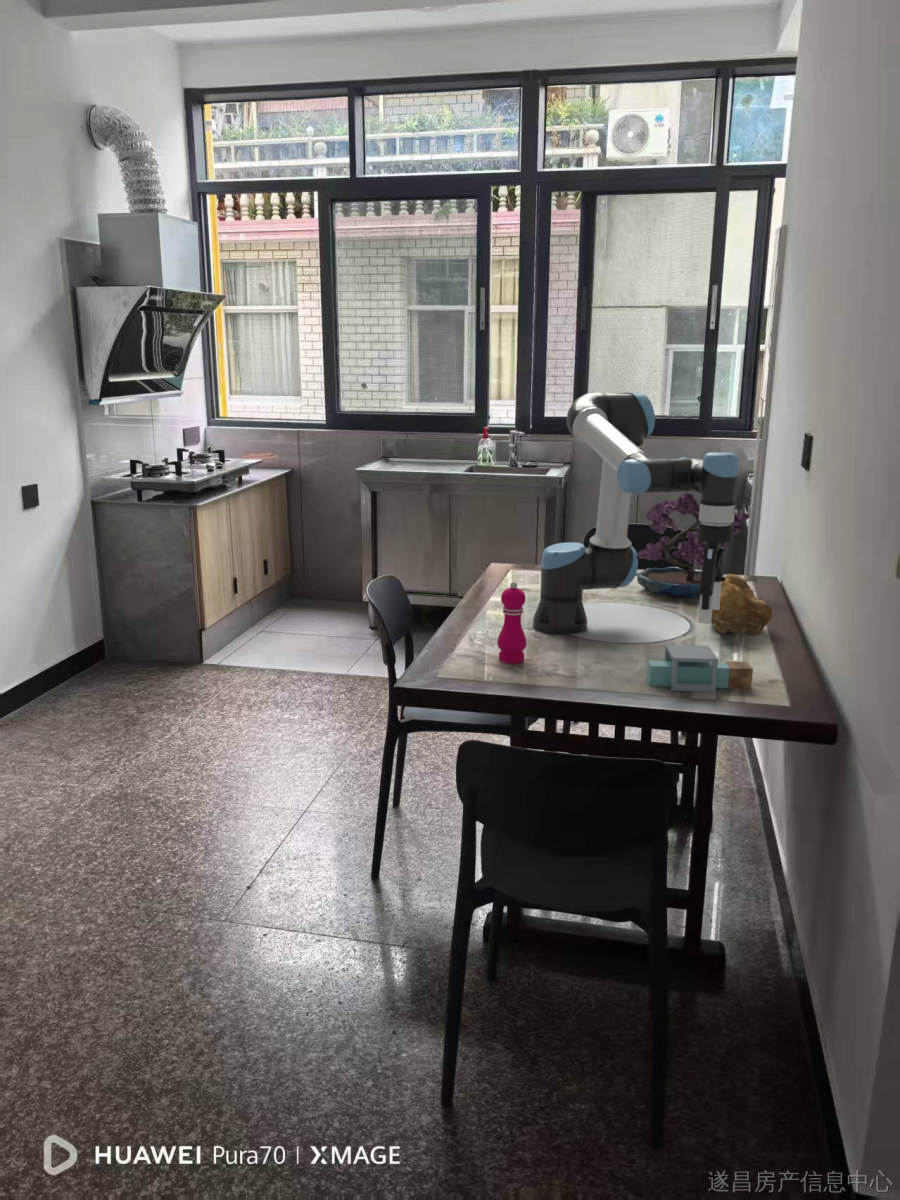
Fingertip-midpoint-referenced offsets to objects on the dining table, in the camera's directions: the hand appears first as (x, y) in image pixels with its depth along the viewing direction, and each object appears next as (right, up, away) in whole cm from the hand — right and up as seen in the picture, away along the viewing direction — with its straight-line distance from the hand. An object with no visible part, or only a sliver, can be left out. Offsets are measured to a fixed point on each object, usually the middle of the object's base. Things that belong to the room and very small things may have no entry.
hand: (709, 616), depth 208 cm
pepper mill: (-44, -11, +21) cm, 50 cm away
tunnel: (-3, -16, +5) cm, 17 cm away
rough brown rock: (+22, -5, +49) cm, 53 cm away
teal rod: (-4, -16, +5) cm, 17 cm away
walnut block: (+8, -16, +5) cm, 19 cm away
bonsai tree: (+18, +6, +89) cm, 91 cm away
